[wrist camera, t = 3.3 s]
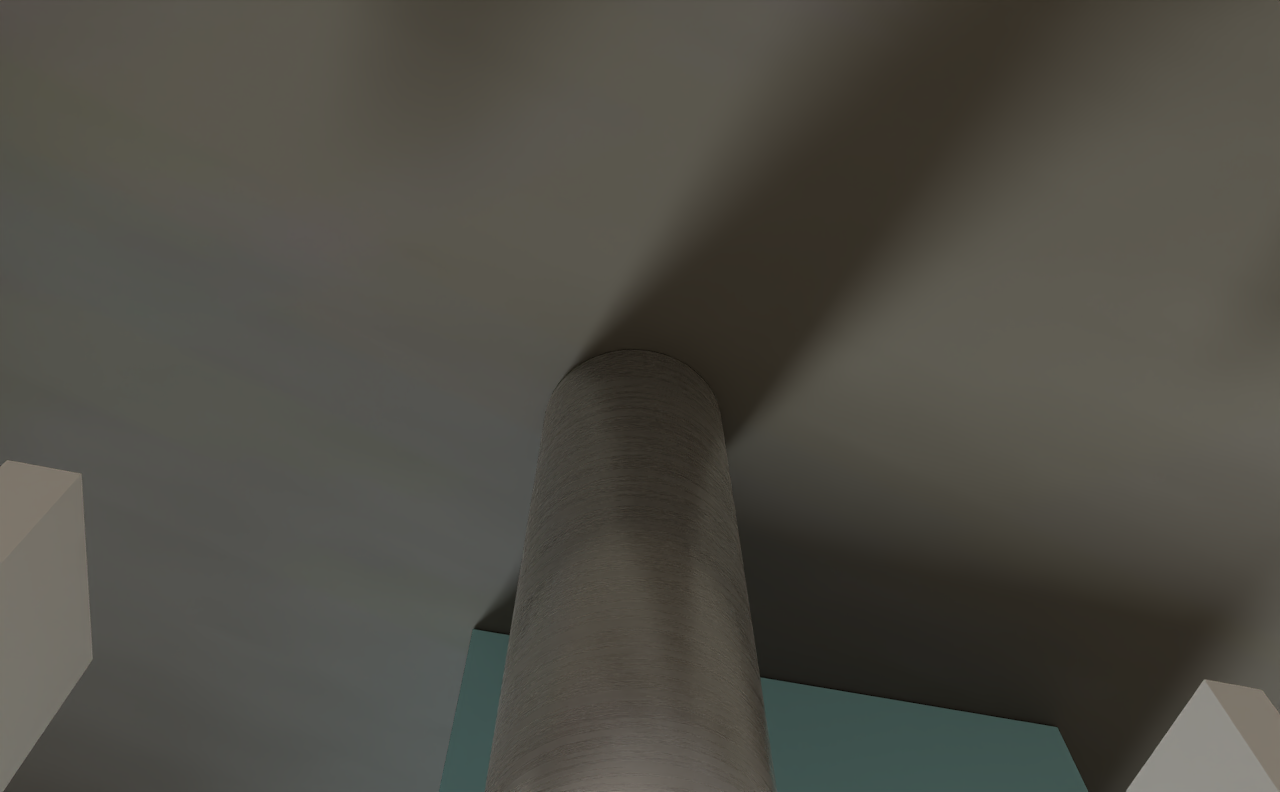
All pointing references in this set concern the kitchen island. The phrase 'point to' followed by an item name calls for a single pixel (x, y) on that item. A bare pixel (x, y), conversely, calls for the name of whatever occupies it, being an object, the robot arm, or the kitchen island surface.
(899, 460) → the kitchen island surface
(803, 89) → the kitchen island surface
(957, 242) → the kitchen island surface
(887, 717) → the chuck block
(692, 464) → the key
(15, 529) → the robot arm
